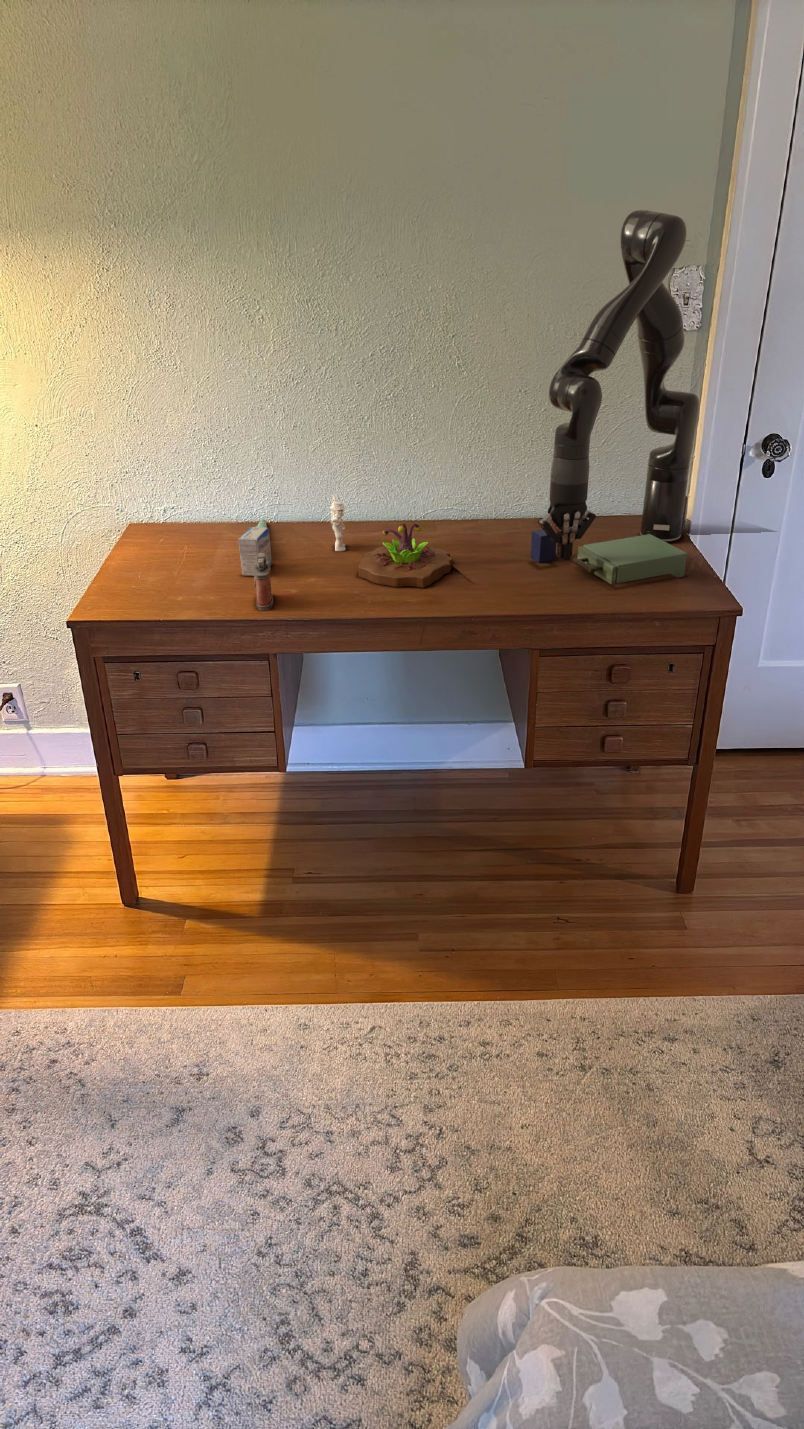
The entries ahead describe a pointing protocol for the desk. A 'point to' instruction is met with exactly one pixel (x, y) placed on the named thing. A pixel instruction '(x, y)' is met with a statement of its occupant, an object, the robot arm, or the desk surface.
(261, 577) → the lighter
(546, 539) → the tea box
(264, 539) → the medicine box
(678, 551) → the box
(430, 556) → the plant
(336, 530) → the hat wearing toy figure
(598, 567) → the tray
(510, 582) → the desk surface
